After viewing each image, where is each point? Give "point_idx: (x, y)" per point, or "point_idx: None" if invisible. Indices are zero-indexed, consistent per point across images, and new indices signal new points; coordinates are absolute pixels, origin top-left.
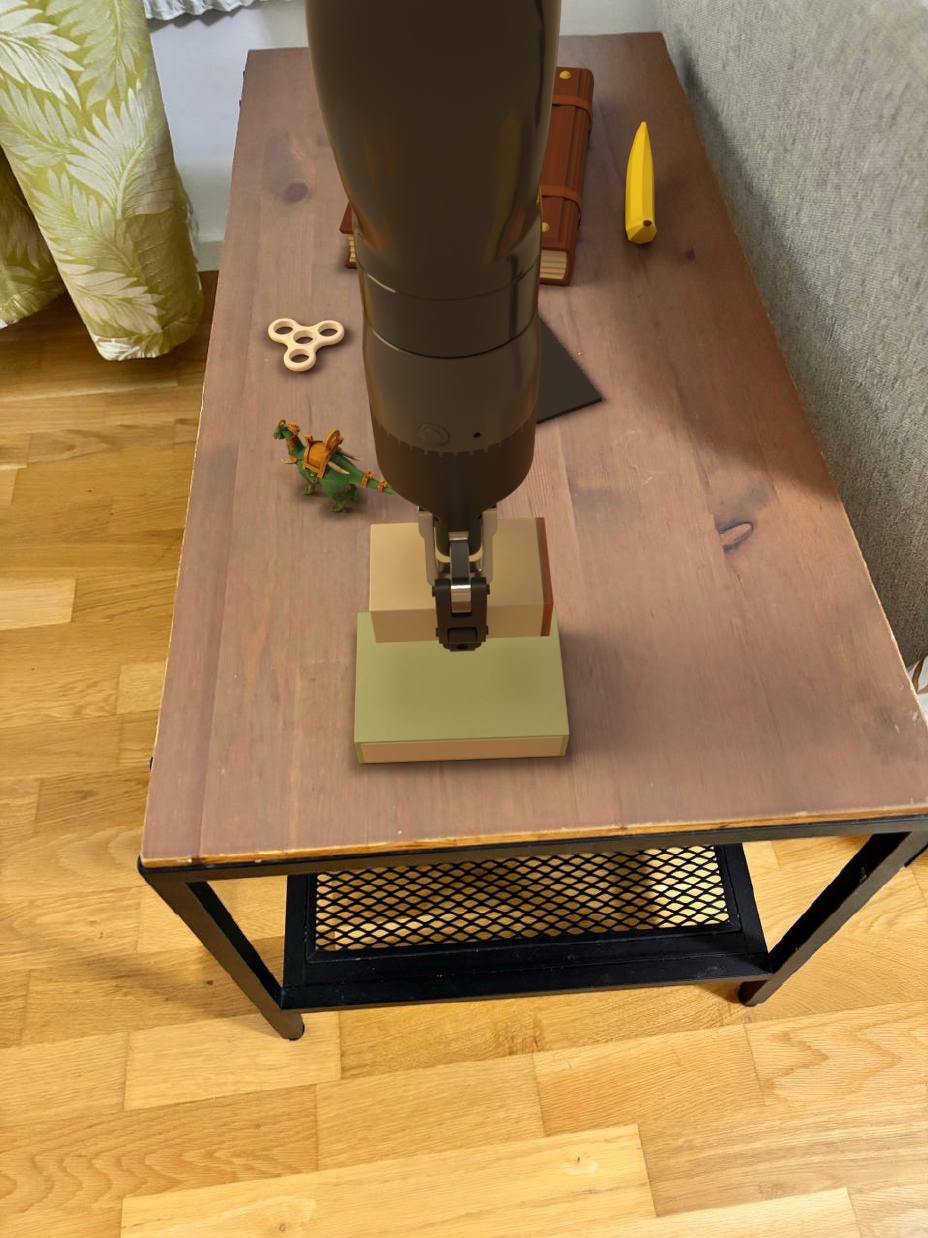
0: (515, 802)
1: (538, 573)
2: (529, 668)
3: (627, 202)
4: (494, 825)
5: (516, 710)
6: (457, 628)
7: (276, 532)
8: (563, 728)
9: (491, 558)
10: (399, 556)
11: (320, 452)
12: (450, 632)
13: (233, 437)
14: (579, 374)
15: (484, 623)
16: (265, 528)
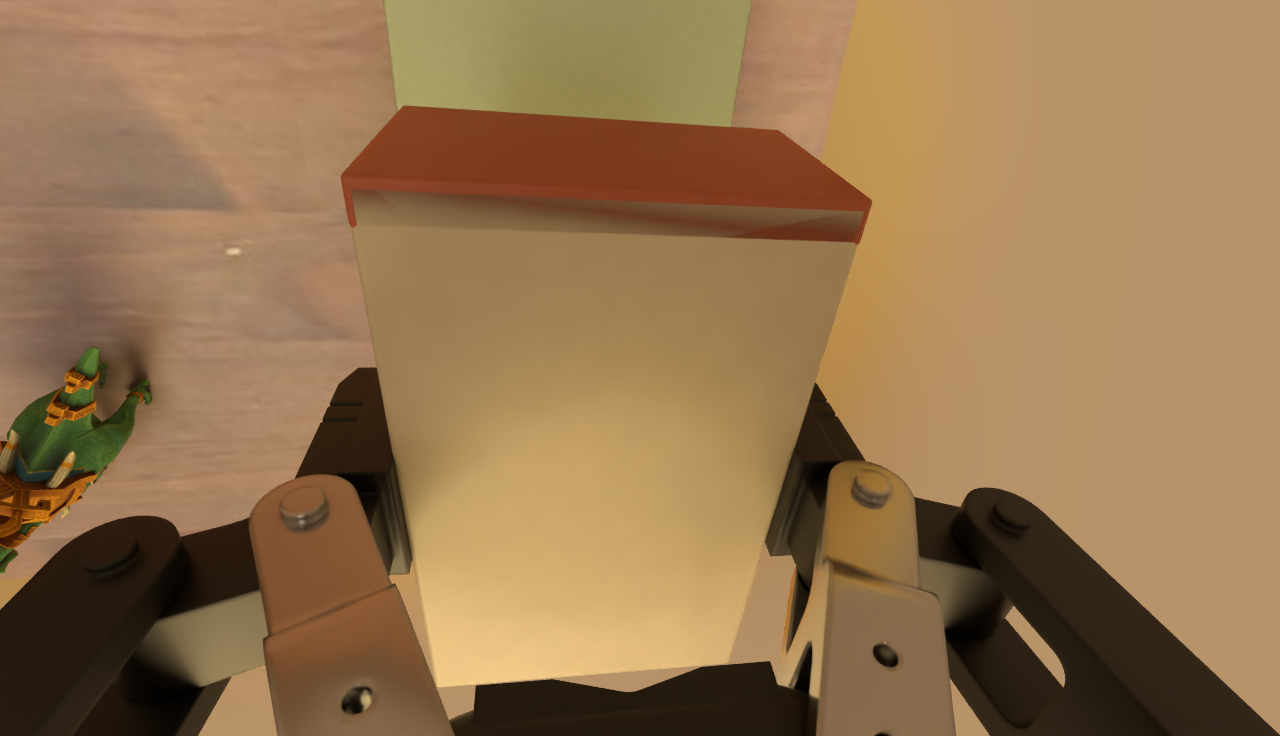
0: (788, 109)
1: (704, 248)
2: (572, 64)
3: None
4: (816, 153)
5: (674, 113)
6: (1004, 616)
7: (232, 474)
8: (736, 4)
9: (946, 705)
10: (560, 631)
11: (29, 504)
12: (999, 624)
13: (20, 548)
14: None
15: (1197, 665)
16: (227, 488)
